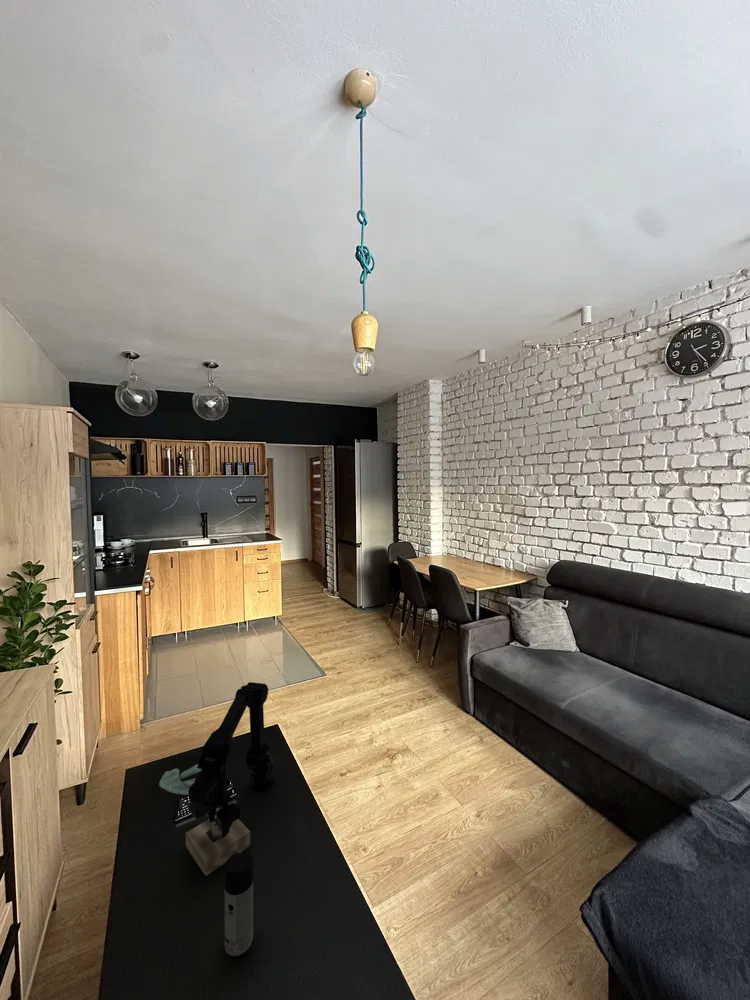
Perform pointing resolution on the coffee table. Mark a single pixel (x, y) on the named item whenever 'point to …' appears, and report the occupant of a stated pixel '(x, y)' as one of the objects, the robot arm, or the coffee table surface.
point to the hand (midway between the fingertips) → (218, 829)
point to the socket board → (216, 845)
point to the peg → (216, 831)
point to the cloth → (178, 780)
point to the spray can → (238, 904)
